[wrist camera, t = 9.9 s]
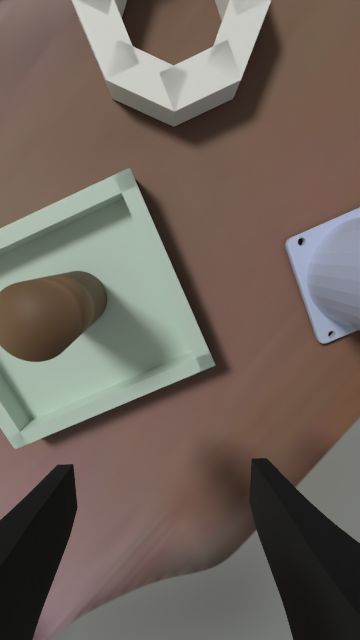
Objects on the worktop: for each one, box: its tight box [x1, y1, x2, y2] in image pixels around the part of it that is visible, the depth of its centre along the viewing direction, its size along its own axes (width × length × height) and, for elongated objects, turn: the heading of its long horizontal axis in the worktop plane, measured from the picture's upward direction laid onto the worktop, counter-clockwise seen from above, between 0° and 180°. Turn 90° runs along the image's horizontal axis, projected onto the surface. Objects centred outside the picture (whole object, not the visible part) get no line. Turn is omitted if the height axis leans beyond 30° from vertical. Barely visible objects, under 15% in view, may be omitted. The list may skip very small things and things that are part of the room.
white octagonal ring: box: [72, 0, 271, 127], centre depth 16 cm, size 10×10×2 cm
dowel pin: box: [0, 271, 107, 362], centre depth 16 cm, size 4×4×7 cm
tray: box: [0, 168, 215, 449], centre depth 19 cm, size 15×13×2 cm
